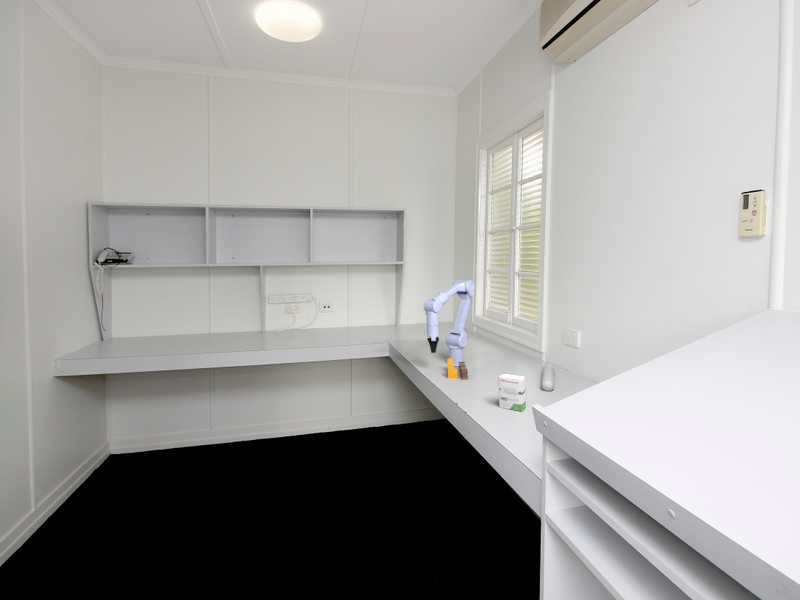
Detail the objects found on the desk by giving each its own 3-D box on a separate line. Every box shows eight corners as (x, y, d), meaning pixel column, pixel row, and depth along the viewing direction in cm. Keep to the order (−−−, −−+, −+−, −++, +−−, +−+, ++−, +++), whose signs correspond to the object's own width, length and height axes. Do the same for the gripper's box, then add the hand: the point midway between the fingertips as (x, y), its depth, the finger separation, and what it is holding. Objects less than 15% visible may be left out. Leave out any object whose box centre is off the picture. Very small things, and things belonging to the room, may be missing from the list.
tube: (556, 383, 162) (556, 366, 185) (543, 378, 163) (544, 362, 186) (551, 395, 163) (552, 377, 186) (538, 390, 164) (540, 372, 188)
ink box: (526, 407, 147) (526, 376, 146) (521, 412, 143) (521, 379, 142) (503, 403, 153) (503, 372, 151) (498, 407, 149) (498, 376, 147)
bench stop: (459, 369, 199) (459, 361, 199) (464, 369, 199) (463, 361, 199) (462, 379, 184) (462, 370, 183) (467, 379, 183) (467, 370, 183)
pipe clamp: (457, 378, 186) (457, 364, 185) (448, 378, 187) (447, 364, 186) (456, 371, 198) (456, 358, 197) (447, 371, 198) (447, 358, 198)
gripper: (424, 322, 203) (425, 349, 205) (424, 327, 189) (425, 356, 190) (438, 322, 203) (439, 349, 204) (439, 327, 188) (440, 356, 190)
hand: (433, 352), depth 197 cm, fingers closed
